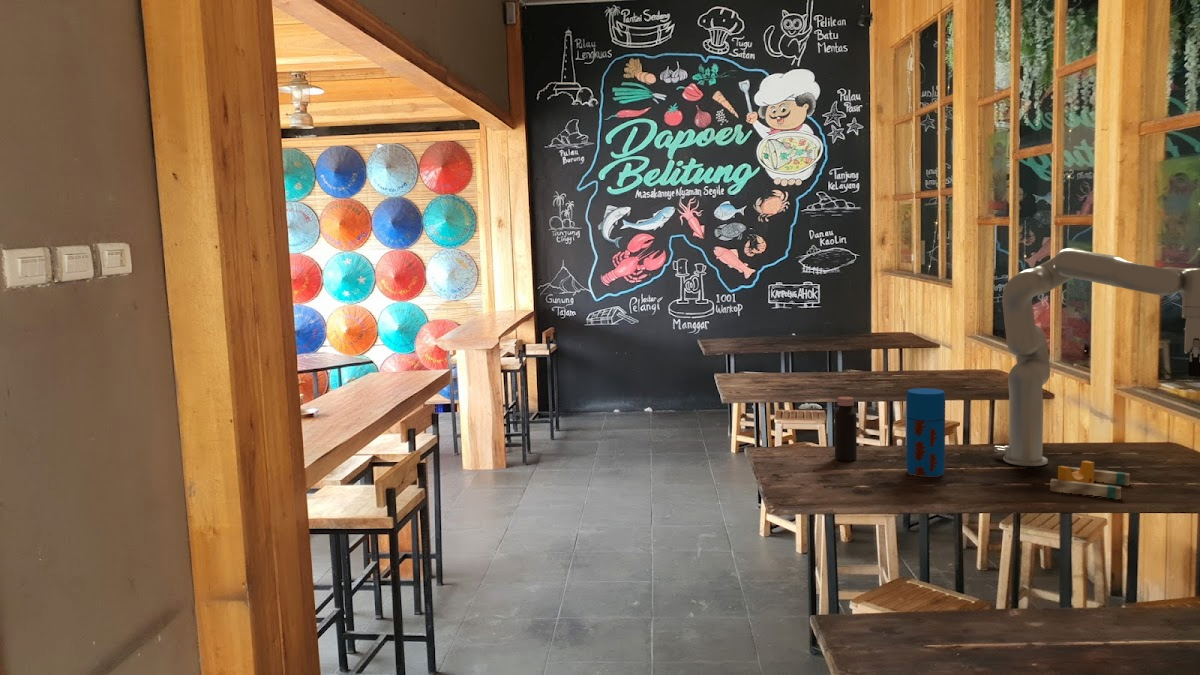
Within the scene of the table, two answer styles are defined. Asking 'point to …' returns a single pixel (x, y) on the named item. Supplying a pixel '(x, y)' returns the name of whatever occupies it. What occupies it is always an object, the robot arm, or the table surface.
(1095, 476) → the channel
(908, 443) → the thermos
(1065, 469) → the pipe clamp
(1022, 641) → the table surface
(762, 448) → the table surface
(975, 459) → the table surface
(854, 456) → the bottle
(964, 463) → the table surface
